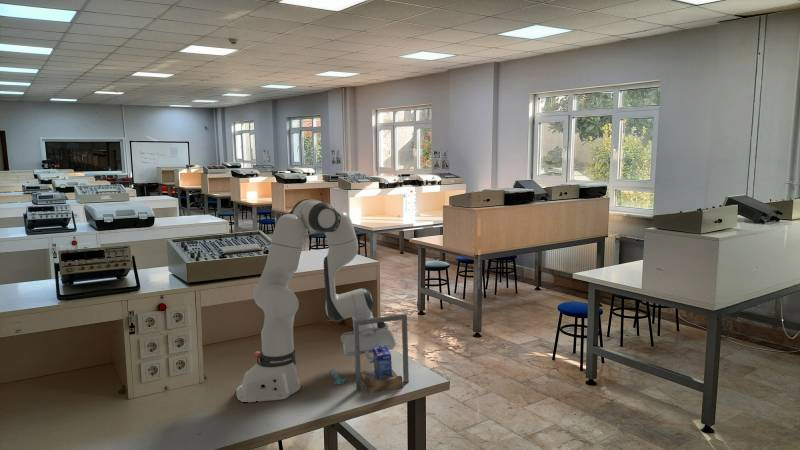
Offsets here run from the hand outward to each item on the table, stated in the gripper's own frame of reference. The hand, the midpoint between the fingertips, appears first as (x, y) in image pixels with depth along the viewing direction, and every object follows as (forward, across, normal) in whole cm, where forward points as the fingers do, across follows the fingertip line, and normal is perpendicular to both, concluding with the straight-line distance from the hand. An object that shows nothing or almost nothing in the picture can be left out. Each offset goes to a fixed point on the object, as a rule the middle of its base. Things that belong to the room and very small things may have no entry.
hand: (373, 362), depth 210 cm
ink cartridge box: (+9, +1, -2) cm, 9 cm away
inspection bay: (+9, 0, -2) cm, 9 cm away
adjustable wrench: (+2, -14, +6) cm, 15 cm away
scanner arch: (+11, 0, -4) cm, 12 cm away
